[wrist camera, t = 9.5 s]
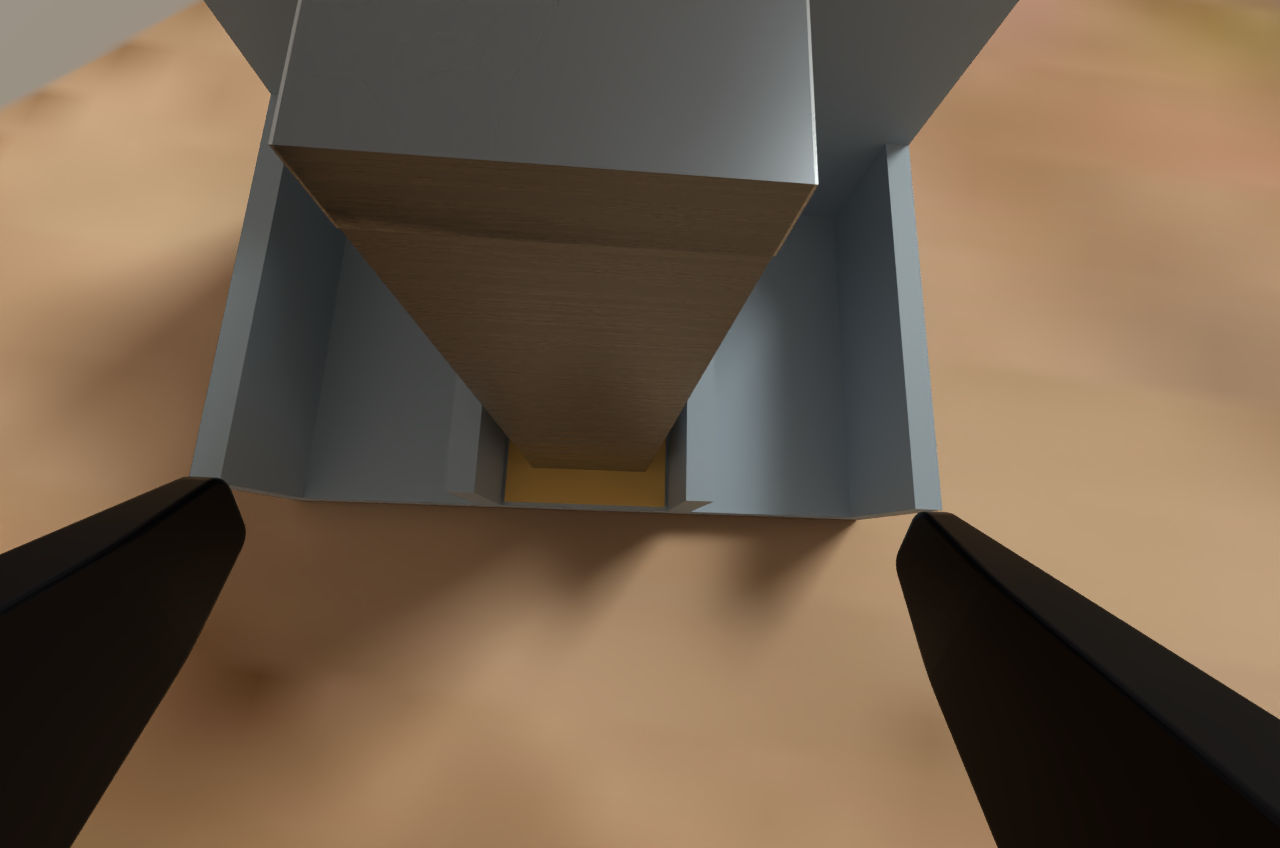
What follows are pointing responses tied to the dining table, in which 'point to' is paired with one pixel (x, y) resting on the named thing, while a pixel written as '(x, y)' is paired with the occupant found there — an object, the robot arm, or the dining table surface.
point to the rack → (729, 388)
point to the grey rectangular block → (559, 190)
